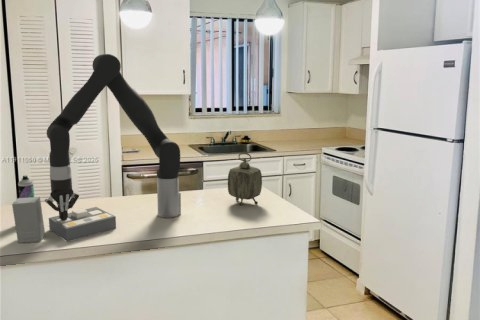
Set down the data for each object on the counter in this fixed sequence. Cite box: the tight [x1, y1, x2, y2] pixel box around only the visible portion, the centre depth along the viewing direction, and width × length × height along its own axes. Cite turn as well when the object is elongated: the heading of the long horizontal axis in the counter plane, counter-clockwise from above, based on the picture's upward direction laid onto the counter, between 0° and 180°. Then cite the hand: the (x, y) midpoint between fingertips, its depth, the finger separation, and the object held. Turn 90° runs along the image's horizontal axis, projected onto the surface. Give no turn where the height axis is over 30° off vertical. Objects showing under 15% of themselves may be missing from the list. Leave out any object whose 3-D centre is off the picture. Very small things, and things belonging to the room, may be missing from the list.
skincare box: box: [11, 196, 46, 244], centre depth 162 cm, size 8×7×16 cm
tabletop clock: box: [227, 152, 263, 206], centre depth 206 cm, size 14×9×25 cm, turn 58°
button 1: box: [56, 218, 71, 223], centre depth 171 cm, size 4×4×3 cm
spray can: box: [17, 175, 35, 198], centre depth 178 cm, size 6×6×20 cm
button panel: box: [48, 206, 117, 242], centre depth 174 cm, size 20×16×5 cm
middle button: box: [71, 208, 88, 219], centre depth 175 cm, size 4×4×3 cm
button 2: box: [88, 210, 103, 215], centre depth 180 cm, size 4×4×3 cm
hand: (63, 219), depth 170 cm, fingers closed
